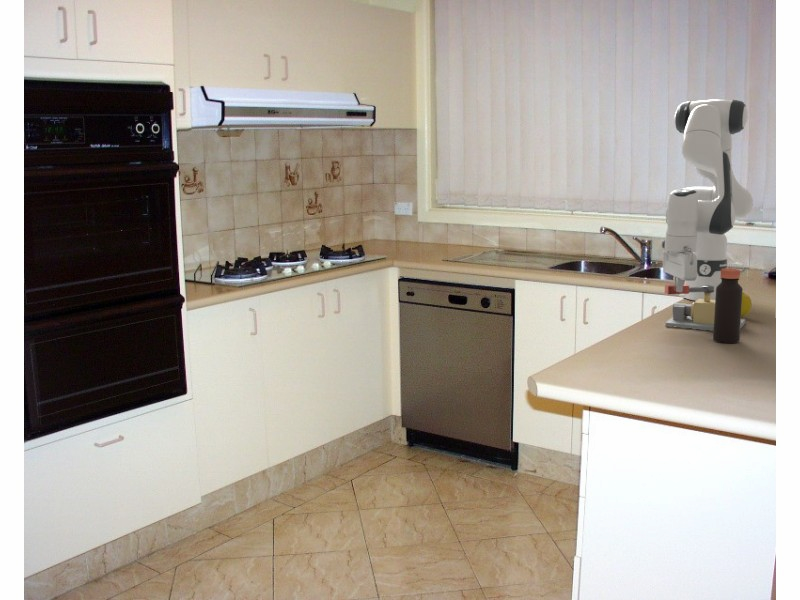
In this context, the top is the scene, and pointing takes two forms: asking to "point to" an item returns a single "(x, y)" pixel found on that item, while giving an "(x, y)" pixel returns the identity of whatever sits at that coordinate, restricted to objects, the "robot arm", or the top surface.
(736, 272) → the bottle
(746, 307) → the lemon
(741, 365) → the top surface
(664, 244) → the robot arm
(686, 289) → the lever
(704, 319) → the valve assembly
